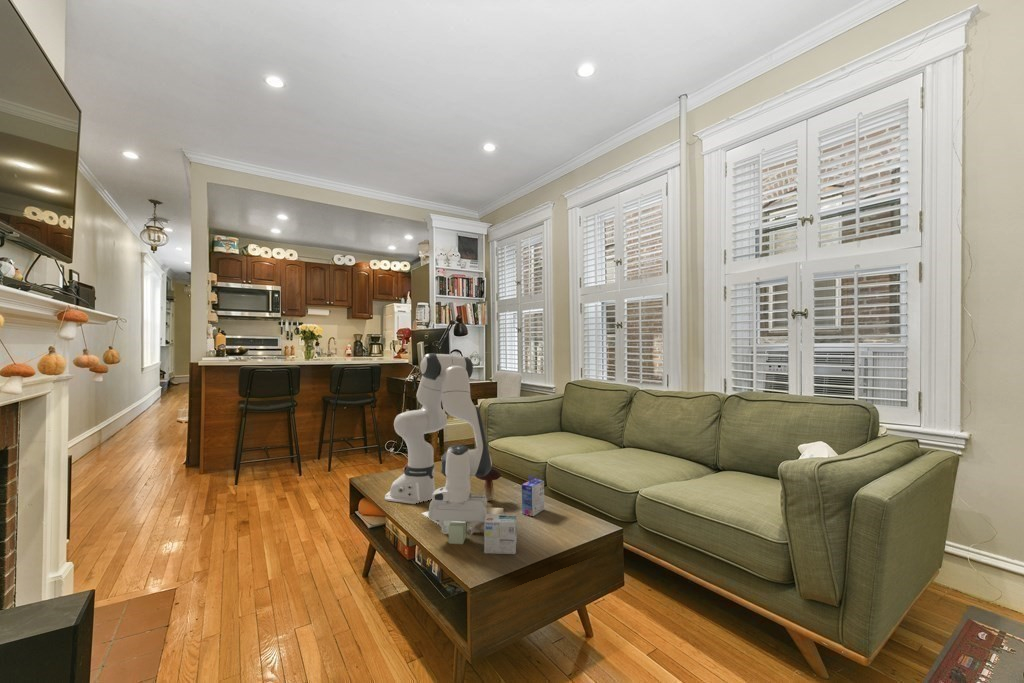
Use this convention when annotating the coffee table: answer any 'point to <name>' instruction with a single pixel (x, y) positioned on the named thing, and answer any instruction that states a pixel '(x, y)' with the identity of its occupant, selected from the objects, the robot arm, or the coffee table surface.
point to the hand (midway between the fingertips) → (457, 532)
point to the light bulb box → (500, 533)
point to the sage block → (457, 532)
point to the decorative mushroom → (490, 483)
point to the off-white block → (447, 526)
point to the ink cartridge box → (532, 496)
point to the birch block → (480, 525)
